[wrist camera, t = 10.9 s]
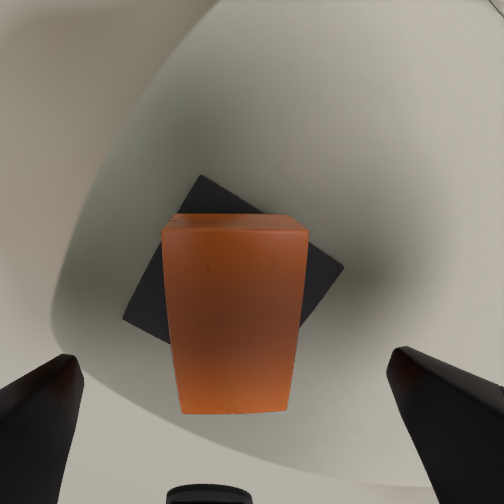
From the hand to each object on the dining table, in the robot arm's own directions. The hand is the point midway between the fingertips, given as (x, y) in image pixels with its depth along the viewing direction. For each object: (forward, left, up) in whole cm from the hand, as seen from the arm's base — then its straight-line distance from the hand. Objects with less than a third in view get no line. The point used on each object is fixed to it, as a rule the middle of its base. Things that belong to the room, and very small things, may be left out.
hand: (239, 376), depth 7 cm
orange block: (0, 0, -5) cm, 5 cm away
